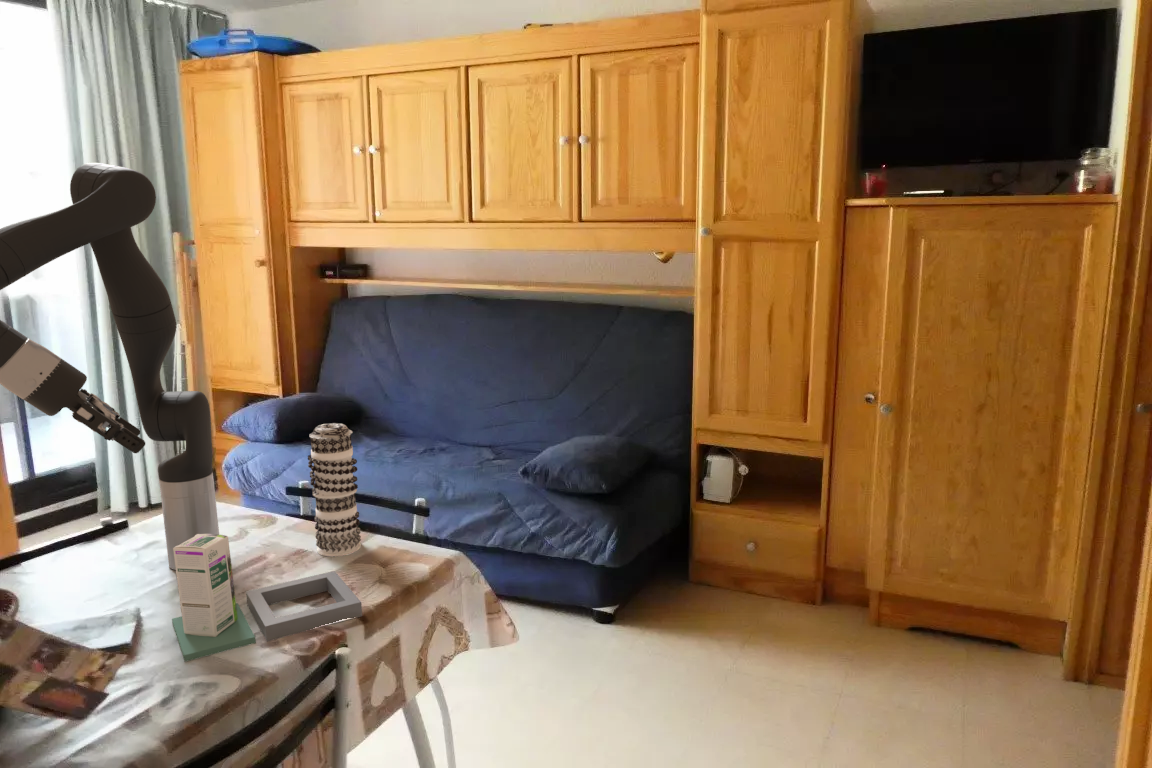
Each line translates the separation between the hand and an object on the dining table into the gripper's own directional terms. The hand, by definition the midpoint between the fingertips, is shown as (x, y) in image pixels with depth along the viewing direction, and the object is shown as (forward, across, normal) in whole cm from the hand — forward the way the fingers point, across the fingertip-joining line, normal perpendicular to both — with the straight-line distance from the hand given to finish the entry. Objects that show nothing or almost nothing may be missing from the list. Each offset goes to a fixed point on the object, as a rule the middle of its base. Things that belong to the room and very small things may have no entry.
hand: (138, 442), depth 126 cm
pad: (+26, -7, +17) cm, 32 cm away
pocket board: (+36, -7, +7) cm, 38 cm away
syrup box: (+26, -7, +16) cm, 31 cm away
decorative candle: (+46, +17, -2) cm, 49 cm away
